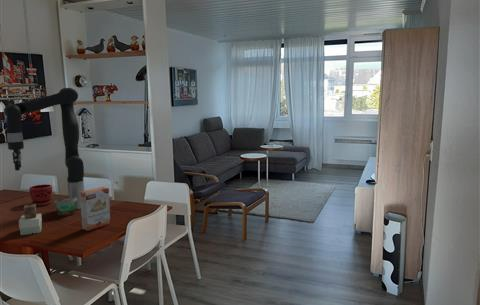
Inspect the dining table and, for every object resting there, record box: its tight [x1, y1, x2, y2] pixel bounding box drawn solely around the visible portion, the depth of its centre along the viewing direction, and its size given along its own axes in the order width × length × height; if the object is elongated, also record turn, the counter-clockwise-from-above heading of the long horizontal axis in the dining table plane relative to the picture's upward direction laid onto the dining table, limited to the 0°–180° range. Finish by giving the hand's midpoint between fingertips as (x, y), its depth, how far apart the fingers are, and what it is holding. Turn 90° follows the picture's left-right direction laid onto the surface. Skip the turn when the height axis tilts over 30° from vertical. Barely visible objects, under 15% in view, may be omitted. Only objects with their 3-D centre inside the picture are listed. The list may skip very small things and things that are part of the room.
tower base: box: [19, 222, 43, 236], centre depth 190 cm, size 9×9×4 cm
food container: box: [53, 197, 77, 218], centre depth 214 cm, size 12×6×10 cm, turn 118°
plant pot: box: [28, 183, 53, 207], centre depth 236 cm, size 13×13×12 cm
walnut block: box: [23, 203, 38, 219], centre depth 189 cm, size 5×5×6 cm
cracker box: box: [80, 186, 111, 232], centre depth 196 cm, size 14×6×21 cm, turn 145°
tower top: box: [18, 213, 43, 230], centre depth 190 cm, size 9×9×4 cm
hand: (18, 168), depth 205 cm, fingers open, 8 cm apart
